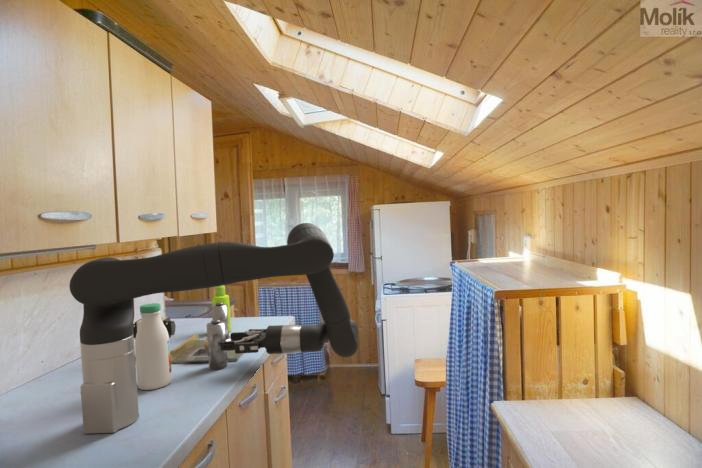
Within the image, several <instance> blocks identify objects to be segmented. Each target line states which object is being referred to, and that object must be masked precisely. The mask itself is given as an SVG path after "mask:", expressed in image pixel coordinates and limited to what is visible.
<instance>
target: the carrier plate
mask: <svg viewBox="0 0 702 468" xmlns="http://www.w3.org/2000/svg"><path fill="white" fill-rule="evenodd" d="M215 304H216V305H211V316H212V317H211V318H212V320H217V319H219V320H220V321H223V322H225V332H226V341H231V335H230V333H229V327H228V309H227V304H223V302H218V303H215ZM212 320H211V321H212ZM240 347H243V346H240ZM244 354H245V353H238V354H236V353H235V350H227V362H238V361H239V360H240V358H241V357H242V356H243V355H244ZM170 355H171V363H172V364H192V363H191V362H199V363H209V358H208V341H207V338H205V339H200V335H199V333H195V334H193V335H192V336H191V337H189V338H187V339H186V340H185V341H184V342H182V343H180V344H179V345H178V346H176V347H175V348H173V349H172V350H170Z"/></svg>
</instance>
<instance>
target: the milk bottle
mask: <svg viewBox="0 0 702 468" xmlns="http://www.w3.org/2000/svg"><path fill="white" fill-rule="evenodd" d="M161 309H162V306H161V304H160V303H157V302H156V303H155V302H154V303H146V304H142V305H140V307H139V312H140V313H139V314H140V316H141V318H140V319H141V323H140V326H139V329H138V331H137V334H136V339H135V338H134V352H135V366H136V381H137V388H138V389H140V390H143V391H153V390H156V389H160V388H161V389H162V388H163V387H167V386H168V385H169V384H171V382H172V380H173V376H172V375H173V373H172V364H171V355H170V351H171V344H170V342H171V341H170V338H169V335H168V331H167V329H166V327H165V325H164V324H163V322H162V320H161Z"/></svg>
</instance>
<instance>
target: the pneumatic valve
mask: <svg viewBox="0 0 702 468" xmlns="http://www.w3.org/2000/svg"><path fill="white" fill-rule="evenodd" d="M160 317H161V316H160ZM161 320H162V322H163V324H164V325H165V327H166V329H167V331H168V335H169V339H170V338H172V337H173V336H174V335H175V333H176V322H175V321H174V320H172V319H171V316H163V317H161ZM140 323H141V318H140V319H138V320H136V321H135V322H134V323H133V336H134V340H135V339H136V334H137V331H138V329H139V326H140Z"/></svg>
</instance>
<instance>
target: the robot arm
mask: <svg viewBox="0 0 702 468" xmlns="http://www.w3.org/2000/svg"><path fill="white" fill-rule="evenodd" d="M286 240H287V241H286V243H287V244H285V245H284V244H283V245H278V246H257V245H252V244H247V243H242V242H238V241H237V242H235V241H220V242H211V243H203V244H198V245H192V246H188V247H184V248H180V249H177V250H176V249H175V250H172V251H170V252H166V253H162V254H159V255H155V256H149V257H142V258H132V259H118V258H115V257H108V256H107V257H106V256H105V257H101V258H97V259H93V260H90V261H87V262H85V263H83V264H82V265H81V266H79V267H78V268H77V269H76V270H75V272H74V273H73V274H72V276H71V278H70V281H69V292H70V294H71V295H72V297H73V298H74V300H76V301H77V302H78V303H80V304H81V305H83V317H82V320H81V321H82V322H81V325H80V328H79V342H80V344H79V345H80V355H81V356H80V358H81V370H82V384H81V385H80V397H81V398H80V401H81V413H82V426H83V427H82V428H83V434H112V433H116V432H118V431H119V430H121V429H124V428H126V427H128V426H130V425H131V424H133V423H135V422H136V421H137V420H138V418H139V417H140V413H139V397H138V396H139V395H138V383H137V368H136V351H135V338H134V336H133V324H134V323H135V322H134V320H135V300H134V299H136V298H141V297H145V296H150V295H155V294H163V293H176V292H177V293H178V292H184V291H192V290H193V291H194V290H201V289H202V290H203V289H208V288H215V287H217V286H222V285H224V286H227V285H232V284H235V283H240V282H241V283H242V282H248V281H255V280H256V281H257V280H260V279H261V280H263V279H267V278H276V277H292V276H304V275H305V276H306V278H307V280H308V282H309V285H310V288H311V291H312V294H313V296H314V299H315V302H316V305H317V308H318V310H319V312H320V315H321V317H322V319H323V322H322V323H319V324H315V325H314V324H311V325H309V324H308V325H297V324H287V325H286V324H285V325H284V324H283V325H278V324H277V325H268V326H267V328H260V329H259V328H255V329H254V328H253V329H251V328H250V329H248V330H245V331H241V332H239V331H238V332H230V337H231V341H224V342H221V343H220V349H221V350H222V351H226V350H235V353H236V354H238V353H244V354H255V353H258V352H259V350H260V349H262V348H264V349H265V352H266V354H268V355H283V354H285V355H286V354H296V353H313V352H320V351H322V350H323V348H324V345H325V343H326V342H327V341H329V345H330V347H331V349H332V351H333V352H334V353H335V354H336V356H339V357H341V358H351V357H352V356H353V355H355V354H356V352H357V351H358V349H359V329H358V328H359V326H358V324H357V322H356V321H354V320H353V319H351V313H350V310H349V307H348V305H347V303H346V302H347V301H346V299H345V297H344V295H343V292H342V290H341V287H340V286H339V283H338V281H337V279H336V278H335V275H334V274H333V271H332V269H331V264H332V262H333V260H334V256H335V254H334V248H333V247H332V245H331V243H330V241H329V239H328V237H327V236H326V234H325V232H323V230H322V229H321V228H320V227H318V226H317V225H315V224H314V223H310V222H303V223H298V224H296V225H295V226H294V227H293V228H291V230H290V231H289V233H288V235H287V238H286ZM240 346H243V347H240Z"/></svg>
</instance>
